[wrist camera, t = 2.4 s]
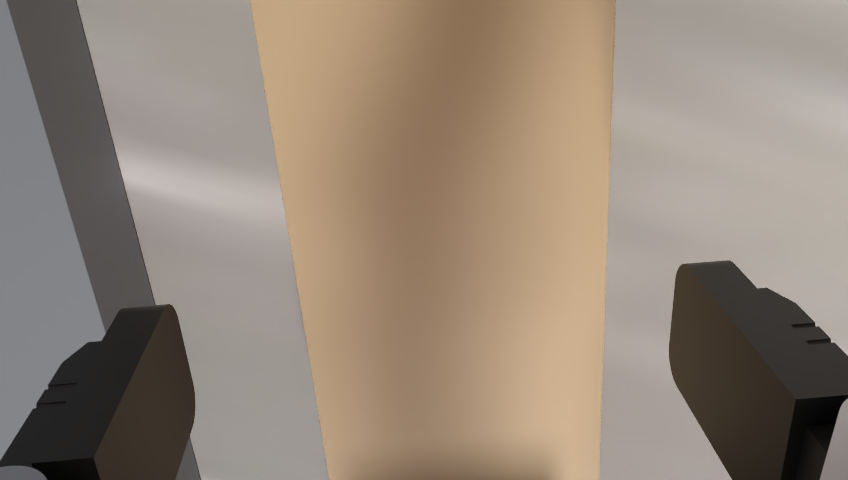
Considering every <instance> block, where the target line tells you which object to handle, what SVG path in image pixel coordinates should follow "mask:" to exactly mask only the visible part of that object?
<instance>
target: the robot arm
mask: <svg viewBox="0 0 848 480" xmlns="http://www.w3.org/2000/svg"><path fill="white" fill-rule="evenodd" d="M669 359H670V366H671V371H672V375H673V378H674V381H675V383H676V385H677V387H678V389H679V391H680V392H681V394H682V396H683V397H684V399H685V401H686V402H687V404H688V406H689V408H690V409H691V411H692V413H693V414H694V416H695V418H696V419H697V421H698V423H699V424H700V426H701V428H702V429H703V431H704V433H705V435H706V436H707V438H708V440H709V441H710V443H711V445H712V446H713V448H714V450H715V451H716V453H717V455H718V456H719V458H720V460H721V462H722V463H723V465H724V467H725V468H726V470H727V472H728V473H729V475H730V477H731V478H732V480H848V356H847V355H846V354H845V353H844V352H843V351H842V350H841V349H840V348H839V347H838V346H837V345H836V344H835V343H831V338H830V337H829V336H828V335H827V334H826V333H825V332H824V331H823V330H822V329H821V328H820V327H816V326H815V322H814V321H813V320H812V319H811V318H810V317H809V316H808V315H807V314H806V313H805V312H804V311H803V310H802V309H801V308H800V307H799V306H798V305H797V304H796V303H794V302H792V301H791V300H789V299H787V298H785V297H783V296H781V295H779V294H777V293H775V292H774V291H772V290H770V289H768V288H759V289H757V288H756V287H755V286H754V285H753V283H752V282H751V281H750V280H749V279H748V278H747V277H746V276H745V275H744V274H743V273H742V272H741V270H740V269H739V268H738V267H737V266H736V265H735V264H734V263H733V262H731V261H715V262H702V263H690V264H682V265H681V266H680V267H679V269H678V271H677V274H676V280H675V290H674V301H673V311H672V321H671V332H670V342H669ZM194 416H195V392H194V386H193V381H192V377H191V372H190V368H189V364H188V359H187V355H186V350H185V346H184V342H183V337H182V333H181V329H180V324H179V320H178V316H177V313H176V311H175V309H174V307H173V306H172V305H170V304H167V305H155V306H142V307H130V308H122V309H120V310H119V312H118V313H117V315H116V317H115V318H114V320H113V322H112V323H111V325H110V327H109V329H108V330H107V332H106V334H105V336H104V337H103V339H102V341H96V342H87V343H86V344H85V345H84V346H82V347H81V348H80V349H79V350H77V351H76V352H75V353H74V354H72V355H71V356H70V357H69V358H67V359H66V360H65V361H63V362H62V363H61V365H60V367H59V368H58V370H57V371H56V373H55V375H54V376H53V378H52V379H51V381H50V382H49V384H48V389H46V390H44V392H43V394H42V395H41V397H40V398H39V400H38V401H37V403H36V408H33V409H32V411H31V413H30V414H29V416H28V417H27V419H26V420H25V422H24V424H23V425H22V427H21V428H20V430H19V432H18V433H17V435H16V436H15V438H14V439H13V441H12V443H11V444H10V446H9V447H8V449H7V451H6V452H5V454H4V455H3V457H2V458H1V460H0V480H175V479H176V476H177V473H178V470H179V467H180V464H181V461H182V458H183V455H184V452H185V448H186V445H187V442H188V439H189V436H190V433H191V430H192V427H193V423H194Z"/></svg>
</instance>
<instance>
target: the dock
mask: <svg viewBox="0 0 848 480" xmlns="http://www.w3.org/2000/svg"><path fill="white" fill-rule="evenodd" d="M142 306H155V303H154V299H153V296H152V292H151V288H150V284H149V280H148V276H147V273H146V269H145V265H144V261H143V257H142V253H141V250H140V246H139V242H138V238H137V234H136V230H135V227H134V223H133V219H132V215H131V211H130V207H129V203H128V200H127V196H126V192H125V188H124V184H123V180H122V177H121V173H120V169H119V165H118V161H117V157H116V154H115V150H114V146H113V142H112V138H111V134H110V131H109V127H108V123H107V119H106V115H105V111H104V108H103V104H102V100H101V96H100V92H99V88H98V84H97V81H96V77H95V73H94V69H93V65H92V61H91V58H90V54H89V50H88V46H87V42H86V38H85V35H84V31H83V27H82V23H81V19H80V15H79V12H78V8H77V4H76V0H0V460H1V458H2V457H3V455H4V454H5V452H6V451H7V449H8V447H9V446H10V444H11V443H12V441H13V439H14V438H15V436H16V435H17V433H18V432H19V430H20V428H21V427H22V425H23V424H24V422H25V420H26V419H27V417H28V416H29V414H30V413H31V411H32V409H33V408H36V403H37V401H38V400H39V398H40V397H41V395H42V394H43V392H44V390H46V389H48V384H49V382H50V381H51V379H52V378H53V376H54V375H55V373H56V371H57V370H58V368H59V367H60V365H61V363H62V362H63V361H65V360H66V359H67V358H69V357H70V356H71V355H72V354H74V353H75V352H76V351H77V350H79V349H80V348H81V347H82V346H84V345H85V344H86V343H87V342H96V341H102V339H103V337H104V336H105V334H106V332H107V330H108V329H109V327H110V325H111V323H112V322H113V320H114V318H115V317H116V315H117V313H118V312H119V310H120V309H122V308H130V307H142ZM175 480H200V476H199V472H198V468H197V465H196V461H195V457H194V453H193V449H192V445H191V442H190V438H189V439H188V442H187V445H186V448H185V452H184V455H183V458H182V461H181V464H180V467H179V470H178V473H177V476H176V479H175Z"/></svg>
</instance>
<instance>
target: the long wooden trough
mask: <svg viewBox="0 0 848 480" xmlns="http://www.w3.org/2000/svg"><path fill="white" fill-rule="evenodd" d="M615 2H616V0H250V3H251V9H252V15H253V21H254V27H255V33H256V39H257V45H258V51H259V57H260V63H261V69H262V75H263V81H264V87H265V94H266V100H267V106H268V112H269V118H270V124H271V130H272V136H273V142H274V148H275V154H276V160H277V166H278V172H279V178H280V184H281V190H282V196H283V202H284V208H285V214H286V220H287V226H288V233H289V239H290V245H291V251H292V257H293V263H294V269H295V275H296V281H297V287H298V293H299V299H300V305H301V311H302V317H303V323H304V329H305V335H306V341H307V347H308V353H309V359H310V365H311V372H312V378H313V384H314V390H315V396H316V402H317V408H318V414H319V420H320V426H321V432H322V438H323V444H324V450H325V456H326V462H327V468H328V474H329V480H599V464H600V435H601V406H602V377H603V349H604V320H605V291H606V262H607V233H608V204H609V175H610V147H611V118H612V89H613V60H614V31H615Z"/></svg>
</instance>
